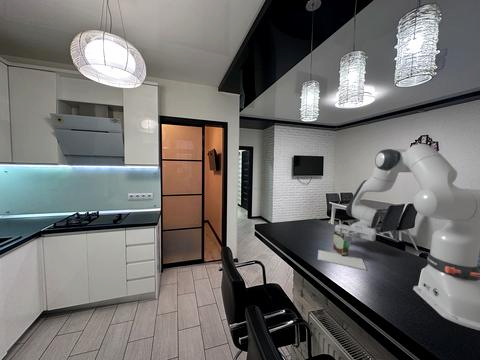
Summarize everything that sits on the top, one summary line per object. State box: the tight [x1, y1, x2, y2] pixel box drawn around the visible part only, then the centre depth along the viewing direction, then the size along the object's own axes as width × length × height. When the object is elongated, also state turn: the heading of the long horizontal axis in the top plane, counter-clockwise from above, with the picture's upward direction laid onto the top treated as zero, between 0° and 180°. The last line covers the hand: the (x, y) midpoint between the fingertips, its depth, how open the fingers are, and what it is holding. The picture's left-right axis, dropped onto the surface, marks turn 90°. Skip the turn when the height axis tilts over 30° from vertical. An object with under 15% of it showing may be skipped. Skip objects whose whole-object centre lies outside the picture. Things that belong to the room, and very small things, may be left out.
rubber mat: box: [317, 249, 367, 271], centre depth 94 cm, size 12×20×1 cm, turn 66°
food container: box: [332, 230, 353, 256], centre depth 101 cm, size 12×6×10 cm, turn 179°
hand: (349, 234), depth 105 cm, fingers closed
